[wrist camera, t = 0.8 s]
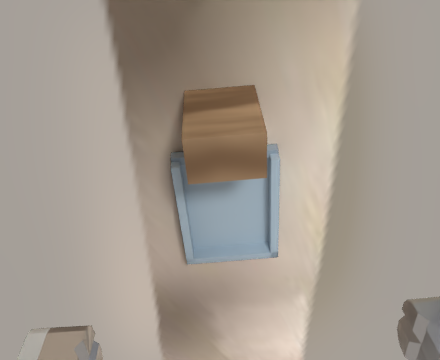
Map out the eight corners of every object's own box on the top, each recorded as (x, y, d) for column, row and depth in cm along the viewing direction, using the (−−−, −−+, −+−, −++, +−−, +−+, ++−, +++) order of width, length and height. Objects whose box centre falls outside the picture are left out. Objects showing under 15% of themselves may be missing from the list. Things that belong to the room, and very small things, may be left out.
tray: (171, 152, 39) (170, 164, 37) (276, 143, 39) (280, 155, 37) (187, 251, 47) (187, 264, 45) (275, 244, 47) (277, 257, 45)
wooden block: (184, 90, 35) (181, 139, 29) (254, 85, 35) (266, 132, 29) (189, 131, 38) (188, 184, 31) (255, 126, 38) (267, 178, 31)
